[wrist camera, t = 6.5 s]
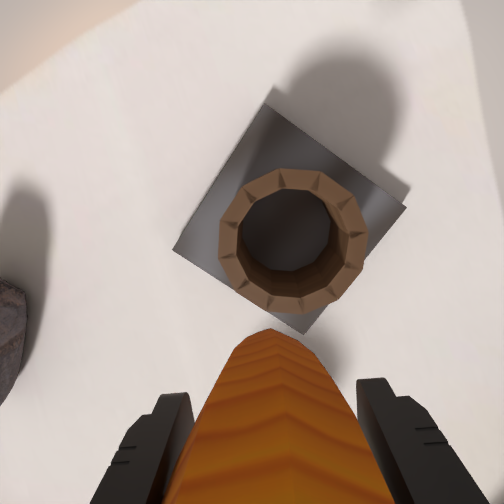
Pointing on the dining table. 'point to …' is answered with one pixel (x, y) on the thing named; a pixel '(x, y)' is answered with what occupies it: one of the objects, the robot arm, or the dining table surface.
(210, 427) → the carrot
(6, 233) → the dining table surface
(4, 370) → the perforated stone tool
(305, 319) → the holder
